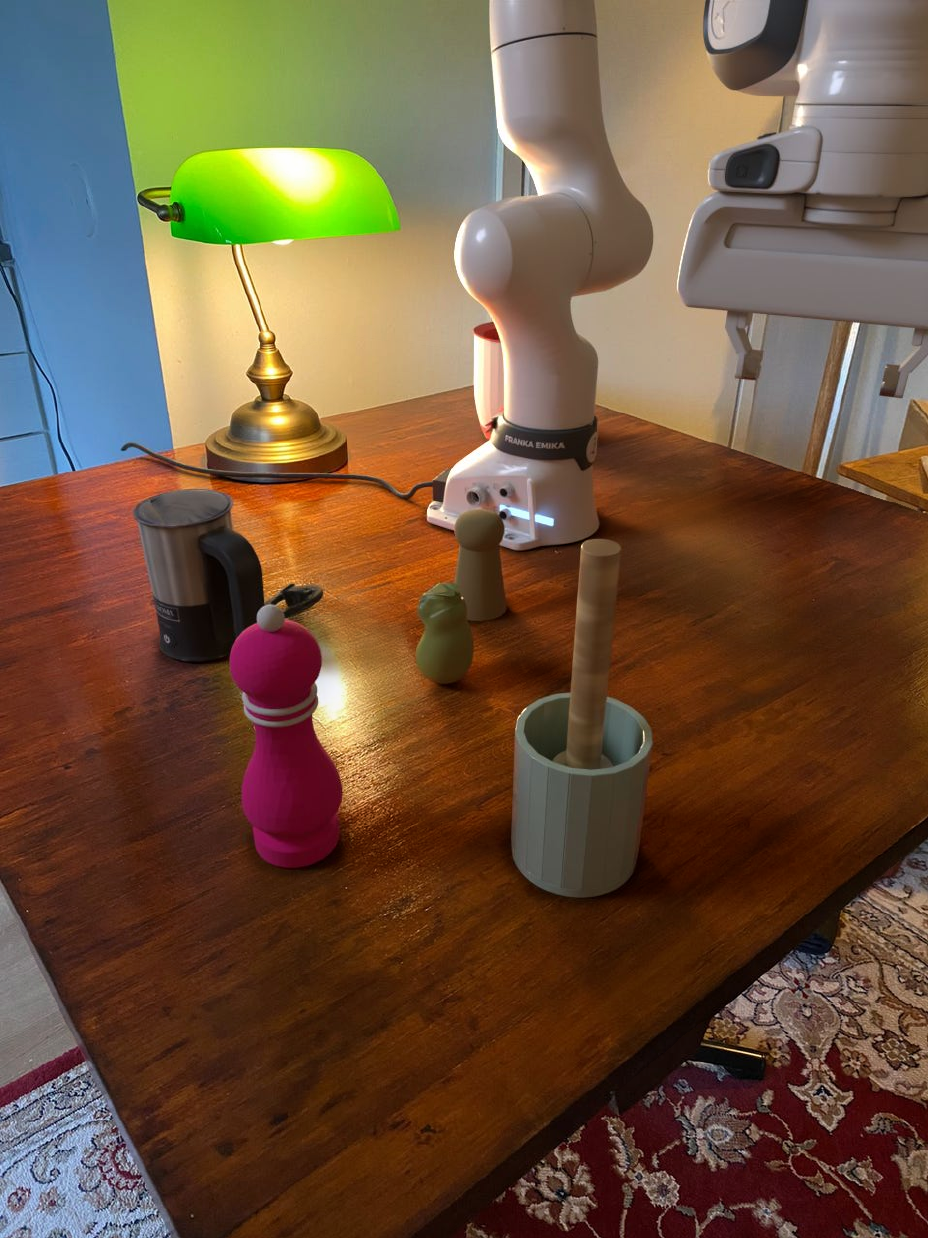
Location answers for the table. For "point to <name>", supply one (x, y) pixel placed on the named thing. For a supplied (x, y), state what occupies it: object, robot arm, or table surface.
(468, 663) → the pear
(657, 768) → the table surface
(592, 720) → the bottle brush
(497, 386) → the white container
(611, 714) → the faceted pen cup
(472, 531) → the brown peg figure
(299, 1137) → the table surface
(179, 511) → the milk frother
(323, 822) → the pepper mill
